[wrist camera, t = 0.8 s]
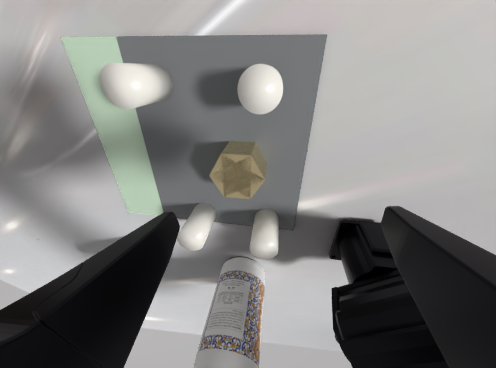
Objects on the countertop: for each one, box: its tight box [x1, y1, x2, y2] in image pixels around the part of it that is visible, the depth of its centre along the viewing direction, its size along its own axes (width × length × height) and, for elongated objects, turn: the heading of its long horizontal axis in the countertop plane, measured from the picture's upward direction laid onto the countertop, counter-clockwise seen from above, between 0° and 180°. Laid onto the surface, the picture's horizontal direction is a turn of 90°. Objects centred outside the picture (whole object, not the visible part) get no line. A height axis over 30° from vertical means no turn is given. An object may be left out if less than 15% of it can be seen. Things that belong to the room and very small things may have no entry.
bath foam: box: [194, 257, 265, 368], centre depth 23 cm, size 7×7×20 cm
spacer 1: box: [100, 63, 173, 109], centre depth 16 cm, size 3×3×5 cm
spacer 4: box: [249, 209, 279, 260], centre depth 22 cm, size 3×3×5 cm
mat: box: [61, 35, 327, 230], centre depth 21 cm, size 20×23×1 cm
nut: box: [209, 141, 267, 199], centre depth 20 cm, size 5×5×4 cm
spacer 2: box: [177, 203, 217, 251], centre depth 23 cm, size 3×3×5 cm
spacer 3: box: [237, 64, 283, 114], centre depth 15 cm, size 3×3×5 cm
